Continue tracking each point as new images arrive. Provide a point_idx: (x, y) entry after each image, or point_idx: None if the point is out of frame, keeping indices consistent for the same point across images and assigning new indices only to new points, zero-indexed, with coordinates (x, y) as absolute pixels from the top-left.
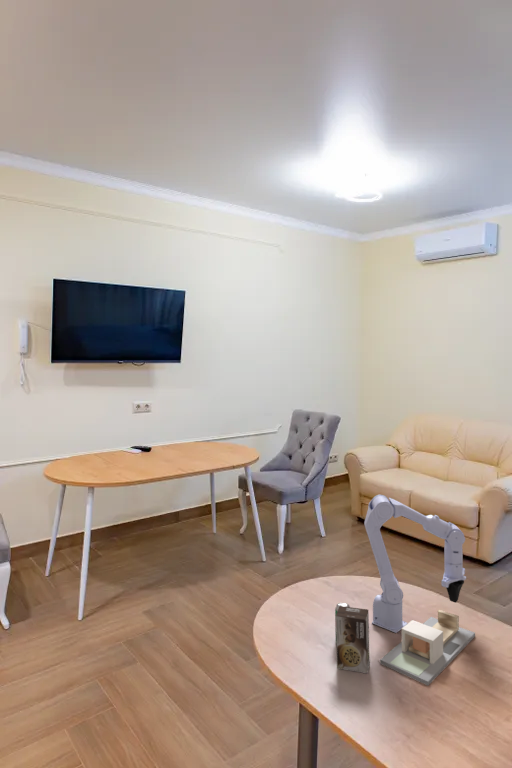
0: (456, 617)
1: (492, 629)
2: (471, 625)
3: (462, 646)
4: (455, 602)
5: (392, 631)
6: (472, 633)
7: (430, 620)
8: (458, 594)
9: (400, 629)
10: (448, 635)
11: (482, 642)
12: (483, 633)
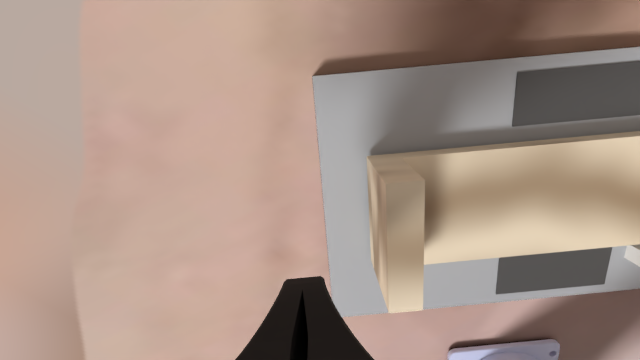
0: (420, 184)
1: (150, 37)
2: (213, 148)
3: (512, 58)
4: (323, 279)
5: (555, 354)
6: (334, 83)
7: (370, 302)
8: (291, 320)
9: (522, 343)
10: (513, 153)
11: (345, 10)
12: (241, 55)
